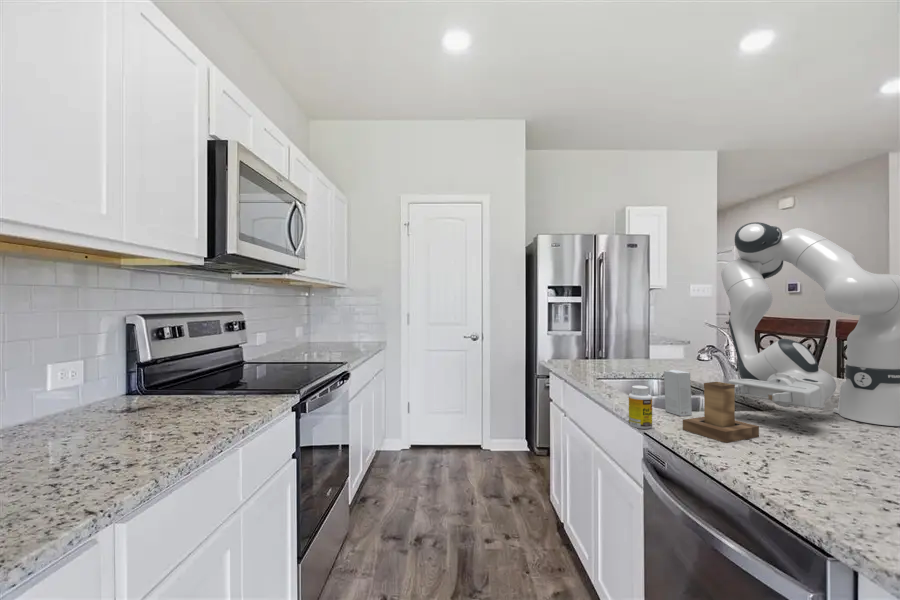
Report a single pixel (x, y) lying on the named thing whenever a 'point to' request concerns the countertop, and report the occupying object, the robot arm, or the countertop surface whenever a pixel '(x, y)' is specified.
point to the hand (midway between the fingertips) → (751, 393)
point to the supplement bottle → (640, 408)
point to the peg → (719, 404)
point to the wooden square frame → (721, 430)
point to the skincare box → (677, 392)
